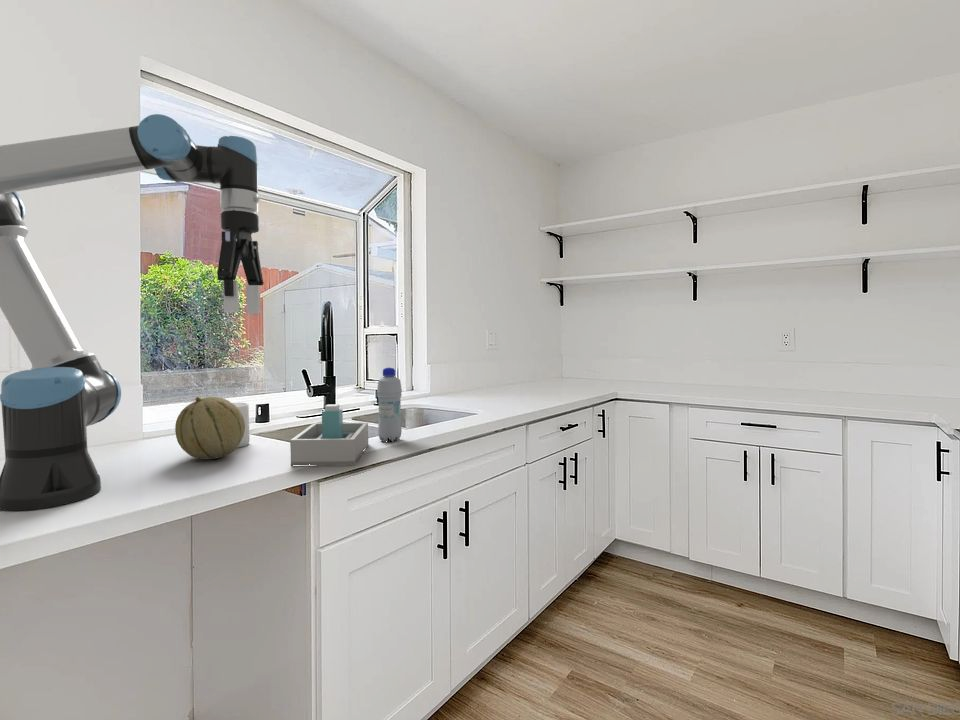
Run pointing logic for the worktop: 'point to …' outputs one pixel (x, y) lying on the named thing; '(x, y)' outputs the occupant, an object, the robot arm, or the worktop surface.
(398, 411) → the bottle
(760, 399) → the worktop surface
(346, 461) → the box
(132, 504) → the worktop surface
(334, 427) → the block
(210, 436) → the cantaloupe
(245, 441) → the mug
